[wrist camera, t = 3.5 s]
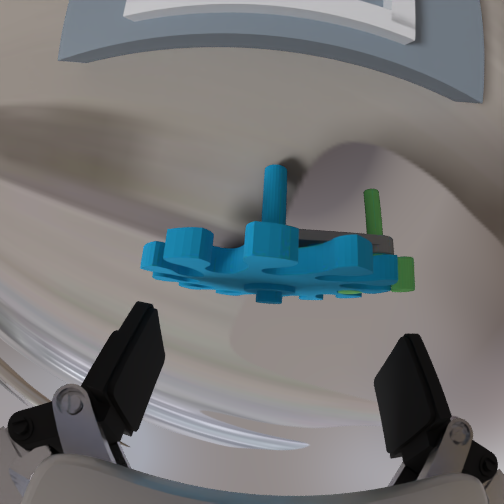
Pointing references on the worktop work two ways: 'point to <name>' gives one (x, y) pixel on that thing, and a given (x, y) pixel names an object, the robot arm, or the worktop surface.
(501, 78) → the worktop surface
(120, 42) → the plate
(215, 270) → the blue cogwheel with peg
